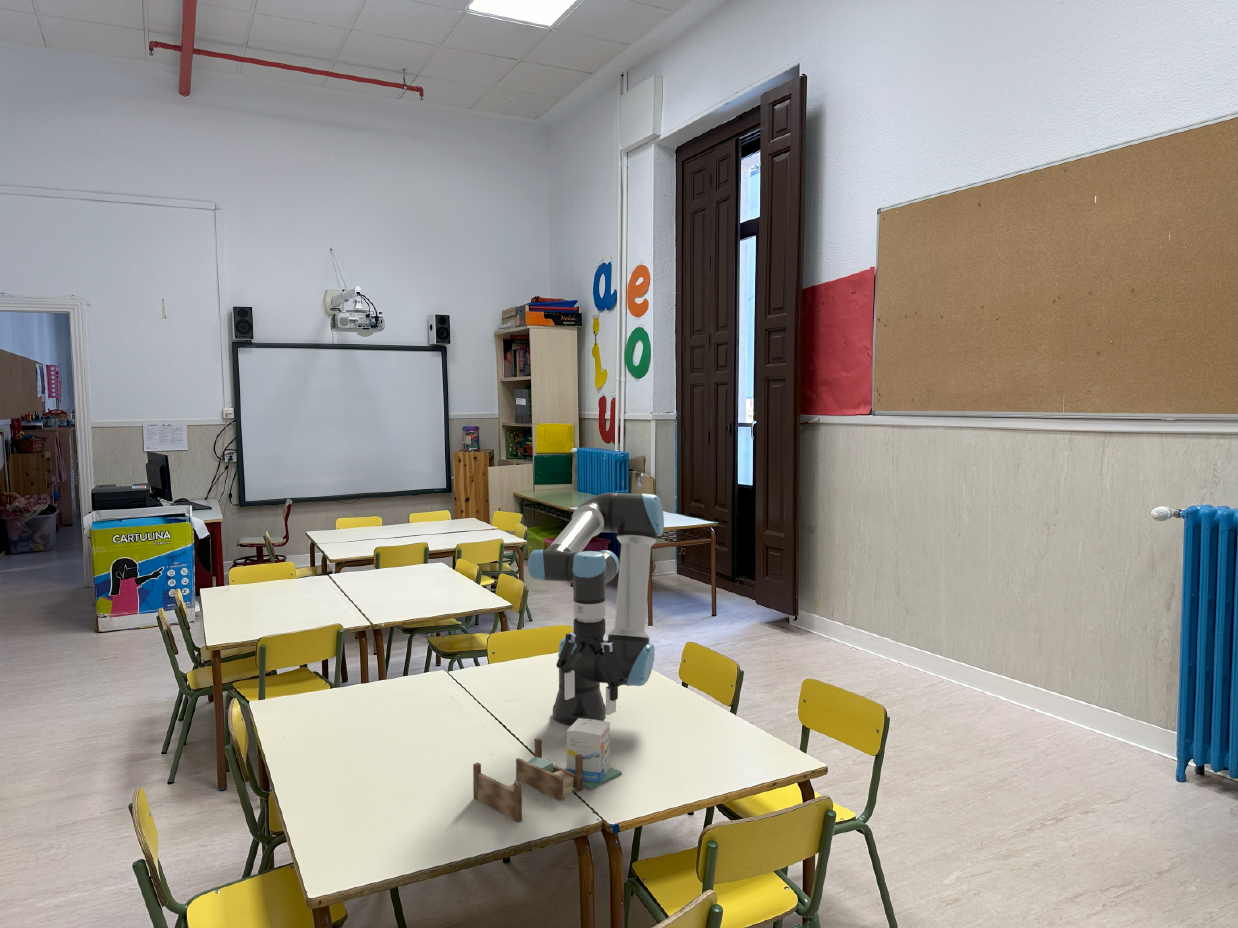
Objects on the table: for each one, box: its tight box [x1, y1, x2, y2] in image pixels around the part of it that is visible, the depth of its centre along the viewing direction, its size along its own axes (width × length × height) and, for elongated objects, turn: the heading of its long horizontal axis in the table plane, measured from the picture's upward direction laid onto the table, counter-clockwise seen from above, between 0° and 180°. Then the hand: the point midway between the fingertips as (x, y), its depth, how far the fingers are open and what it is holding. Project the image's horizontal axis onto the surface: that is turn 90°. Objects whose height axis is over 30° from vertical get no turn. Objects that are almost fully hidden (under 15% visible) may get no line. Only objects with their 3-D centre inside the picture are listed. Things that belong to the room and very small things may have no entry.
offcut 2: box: [553, 771, 574, 796], centre depth 184 cm, size 5×4×3 cm
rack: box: [472, 737, 584, 823], centre depth 182 cm, size 15×20×8 cm
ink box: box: [566, 718, 611, 783], centre depth 191 cm, size 9×8×12 cm
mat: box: [564, 766, 623, 791], centre depth 192 cm, size 11×11×1 cm
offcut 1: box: [526, 756, 554, 773], centre depth 188 cm, size 5×4×2 cm
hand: (589, 705), depth 191 cm, fingers open, 13 cm apart
